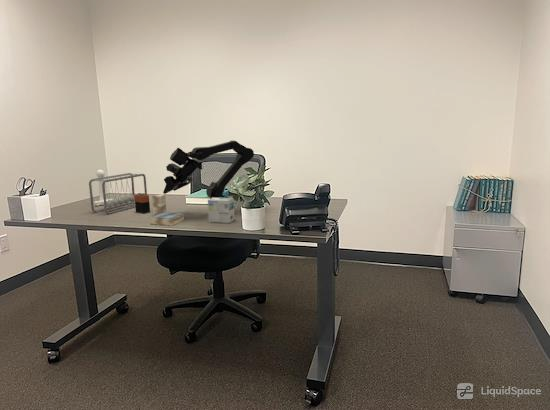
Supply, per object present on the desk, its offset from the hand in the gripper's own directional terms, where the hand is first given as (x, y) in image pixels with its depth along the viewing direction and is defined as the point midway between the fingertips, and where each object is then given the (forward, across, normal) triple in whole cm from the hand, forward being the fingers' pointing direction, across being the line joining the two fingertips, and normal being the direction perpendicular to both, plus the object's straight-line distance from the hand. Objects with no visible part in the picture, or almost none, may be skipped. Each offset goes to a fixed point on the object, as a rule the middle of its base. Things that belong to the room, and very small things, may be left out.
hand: (168, 191), depth 202 cm
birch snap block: (+13, 0, +4) cm, 13 cm away
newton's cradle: (+33, -8, -16) cm, 38 cm away
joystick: (+45, -16, -27) cm, 55 cm away
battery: (+21, -3, -4) cm, 22 cm away
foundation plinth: (+4, +13, +13) cm, 19 cm away
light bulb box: (-12, +5, +30) cm, 33 cm away
